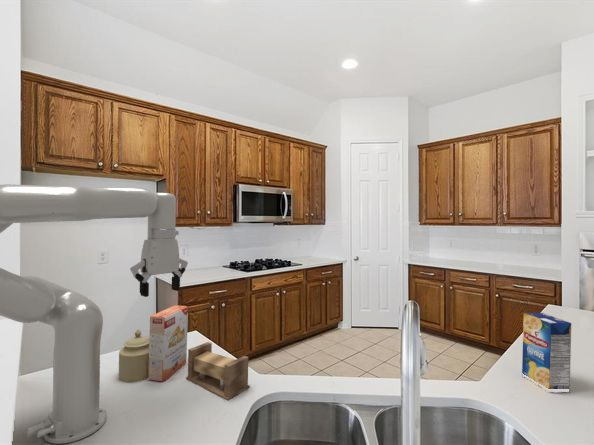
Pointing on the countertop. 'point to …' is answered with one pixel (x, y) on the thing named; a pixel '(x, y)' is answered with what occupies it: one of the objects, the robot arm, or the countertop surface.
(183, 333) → the cracker box
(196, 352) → the rack
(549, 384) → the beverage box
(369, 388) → the countertop surface
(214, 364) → the light wood rectangular block
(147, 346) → the sugar bowl
